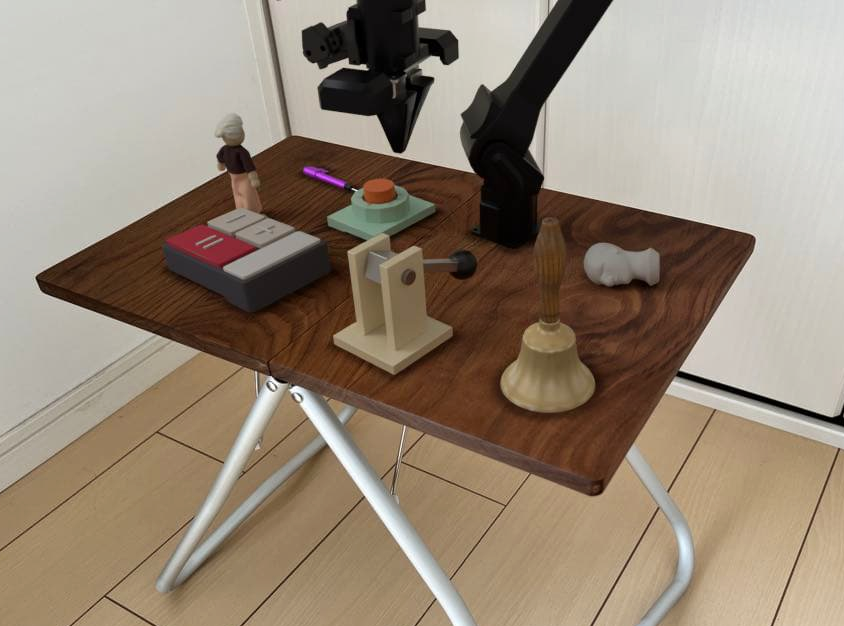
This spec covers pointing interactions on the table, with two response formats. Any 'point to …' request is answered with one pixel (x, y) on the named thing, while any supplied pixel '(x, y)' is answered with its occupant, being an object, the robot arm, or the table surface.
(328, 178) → the purple fountain pen
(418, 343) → the bracket
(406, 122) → the robot arm
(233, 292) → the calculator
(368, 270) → the lever
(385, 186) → the button
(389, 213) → the button box
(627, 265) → the smooth white sculpture
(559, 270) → the hand bell
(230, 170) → the grandmother figurine
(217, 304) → the table surface
